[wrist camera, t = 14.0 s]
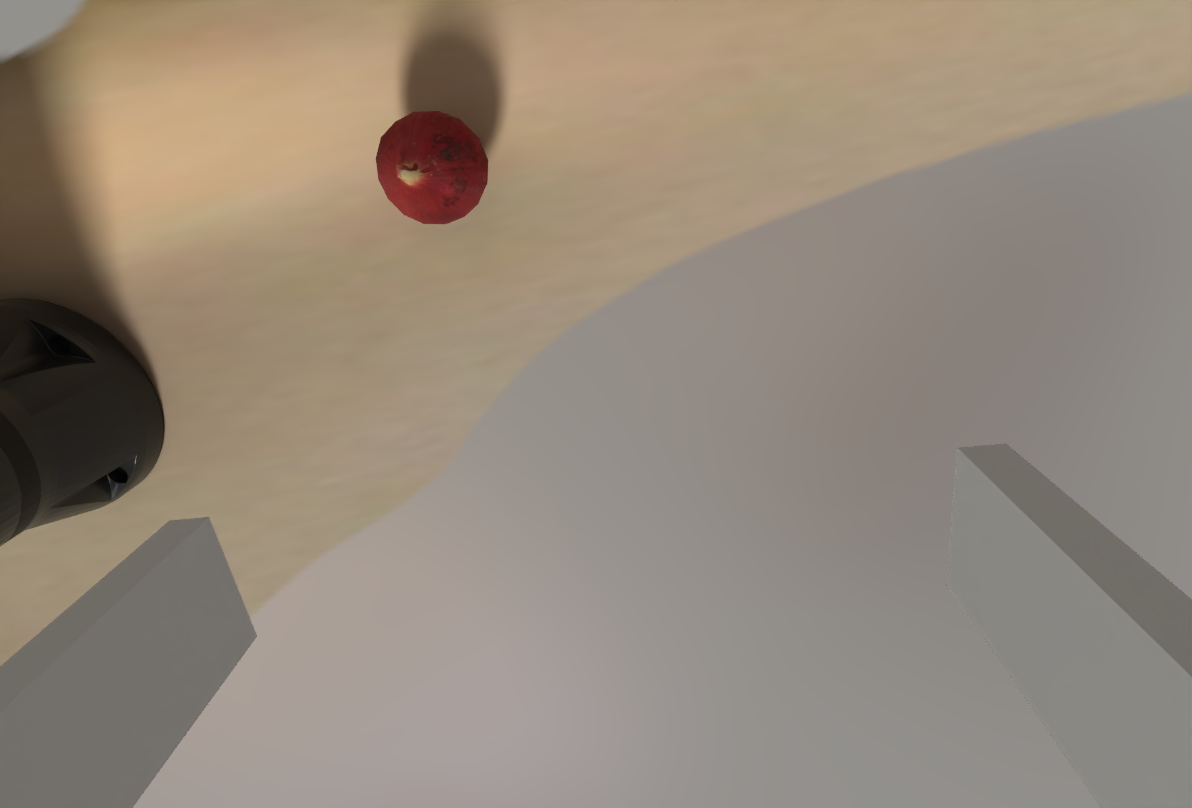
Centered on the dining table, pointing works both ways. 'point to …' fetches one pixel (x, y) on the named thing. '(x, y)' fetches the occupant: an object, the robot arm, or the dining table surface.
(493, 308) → the dining table surface
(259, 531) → the dining table surface
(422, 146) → the onion
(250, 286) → the dining table surface
